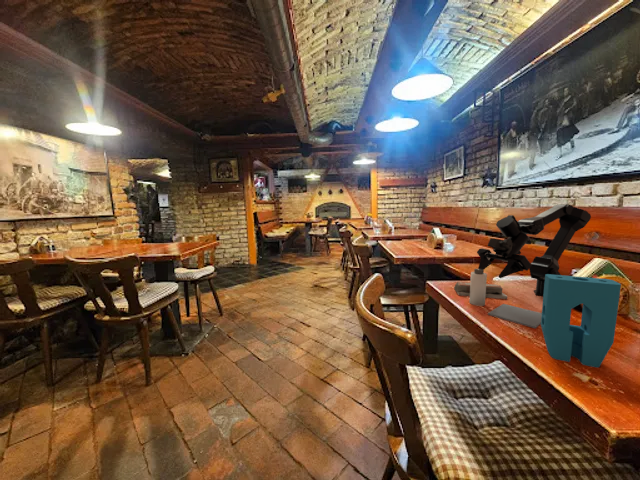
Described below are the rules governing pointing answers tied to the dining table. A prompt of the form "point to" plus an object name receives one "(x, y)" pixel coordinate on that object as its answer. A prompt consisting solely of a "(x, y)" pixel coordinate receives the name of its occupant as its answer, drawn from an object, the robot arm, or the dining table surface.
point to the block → (595, 323)
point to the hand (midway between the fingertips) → (488, 274)
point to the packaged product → (491, 290)
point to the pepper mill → (478, 287)
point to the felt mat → (517, 315)
